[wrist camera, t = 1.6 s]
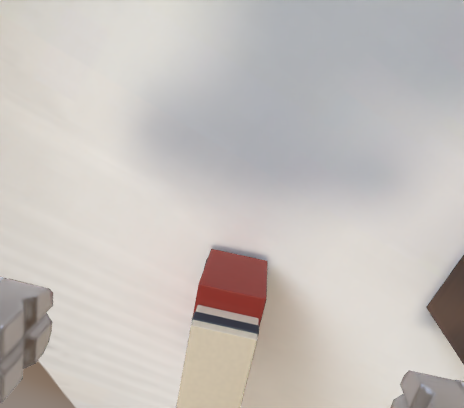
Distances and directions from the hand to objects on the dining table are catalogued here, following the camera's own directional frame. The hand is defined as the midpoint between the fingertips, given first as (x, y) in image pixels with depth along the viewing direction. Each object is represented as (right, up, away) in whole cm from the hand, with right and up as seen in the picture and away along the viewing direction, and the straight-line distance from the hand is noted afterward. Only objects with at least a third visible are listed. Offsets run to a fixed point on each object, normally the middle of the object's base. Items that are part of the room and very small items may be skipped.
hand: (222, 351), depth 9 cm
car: (0, -7, +28) cm, 28 cm away
